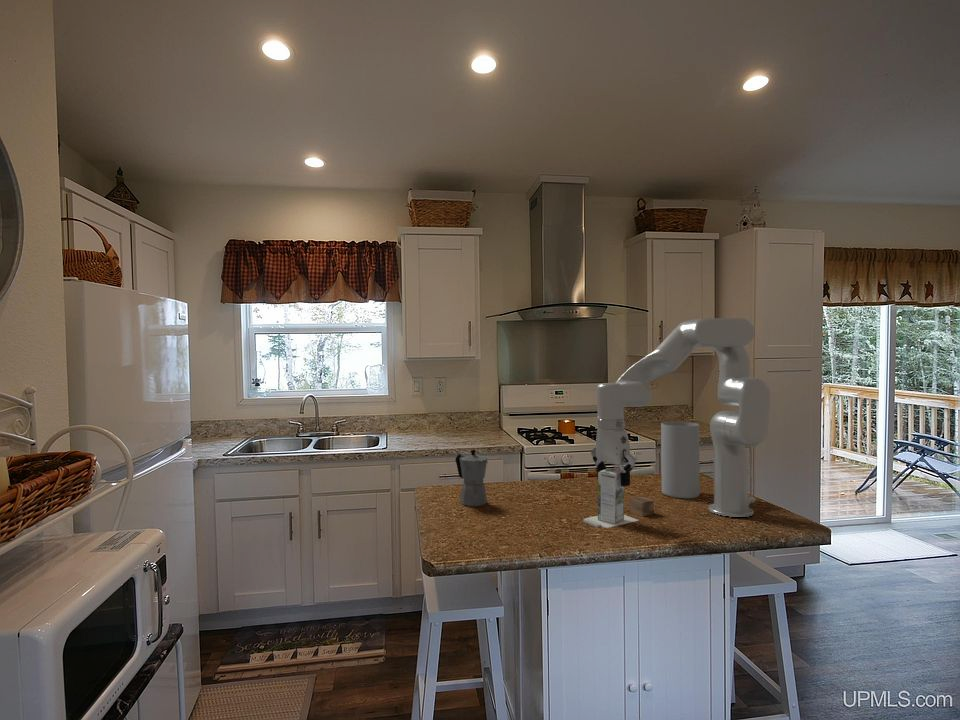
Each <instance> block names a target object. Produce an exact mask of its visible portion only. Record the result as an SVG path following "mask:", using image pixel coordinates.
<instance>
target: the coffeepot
mask: <svg viewBox="0 0 960 720" xmlns="http://www.w3.org/2000/svg"><path fill="white" fill-rule="evenodd" d="M476 451H477V450H476V449H474V448H473V449H471V450H470V453H471V454H470V455H469V454H468V455H467V454H462V453H458V454H457V456H455V464H456V468H457V472H458V477H459V478H461V479H463V483H462V487H461V492H460V493H461V494H460V500H459V503H460V504H461V503H462V504H463V505H462V504H461V505H462V506H465V505H467V506H466V507H481V506H484V505H486V504H487V503H488V498H487V492H486V486H485V483H484V478H485V477H486V470H487V464H488V462H489V461H488V457H485V456H482V455H478V454H476Z"/></svg>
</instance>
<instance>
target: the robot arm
mask: <svg viewBox="0 0 960 720" xmlns="http://www.w3.org/2000/svg"><path fill="white" fill-rule="evenodd" d="M754 337H755V328H754V325H753V324H752V323H751V322H750V321H749V320H747V319H745V318H743V317H736V318H735V317H732V318H730V317H729V318H727V317H724V318H722V317H721V318H719V317H717V318H716V317H715V318H714V317H713V318H712V317H711V318H707V317H704V318H694V319H689V320H684V321H682V322H680V323H679V324H678V325H676V327H675V328H674V329H673V330H672V331H671V332H670V333H669V334H668V335H667V337H665V338H664V339H663V341H661V343H659V345H657V347H656V348H655V349H653V351H652V352H650V353H649V354H647V355H646V356H644V357H642V358H641V359H640V360H639V361H637V362H635V363H634V364H633V365H631V366H630V367H629V368H628V369H627V370H626V371H625V372H624V373H623V374H622V375H620V377H619V378H618V379H617V380H616V381H615V382H602V383H599V384H598V385H597V386H596V404H597V405H596V407H597V408H596V409H597V430H596V439H595V440H596V441H595V447H594V448H593V449H591V450H590V454H591V456H592V461H593V462H594V466H595V467H596V480H598V472H600V471H602V470H605V469H607V467H606V465H605V464H611V465H614V466H618V468H619V469H620V471H622V472H621V473H620V481H621V486H622V487H624V488H625V487H627V486H631V472H632V470H633V469H634V468H635V464H636V461H637V458H636V457H635V456H633V455H632V454H631V447H630V439H629V435H628V431H627V430H626V429H625V427H626V422H625V409H624V407H635V408H640V407H645V406H646V405H648V404H649V403H650V402H651V401H652V399H653V391H652V389H651V387H650V386H649V385H648V383H649V382H651V381H653V380H655V379H657V378H659V377H662V376H665V375H668V374H670V373H673V372H674V371H676V370H677V369H678V368H680V366H681V365H682V363H683V362H685V360H686V359H687V358H688V357H689V356H690V355H692V353H693V352H694V351H695V349H697V348H712V349H713V350H714V351H715V353H716V355H717V357H718V362H719V363H718V365H719V366H718V367H719V368H718V369H719V370H718V383H717V399H718V401H719V402H720V403H721V404H723V405H724V406H728V407H731V408H732V407H734V408H739V409H738V410H739V411H736V410H735V411H734V410H721V411H718V412H716V413H715V414H714V415H713V416H712V417H711V420H710V423H709V431H710V436H711V441H712V445H713V446H712V449H713V503H711V504H709V505H708V511H709V512H710V513H712V514H714V513H715V514H714V515H717V514H718V516H720V515H722V516H721V517H725V516H729V517H728V518H731V517H748V518H750V517H749V516H752V515H753V514H755V512H754V510H753V509H752V508H751V507H750V506H749V505H751V504H754V503H756V498H755V497H754V496H749V493H748V492H749V490H748V489H749V483H748V482H749V481H748V479H749V477H748V476H749V475H748V474H749V473H748V470H749V469H748V462H749V460H748V459H749V458H748V452H747V449H746V446H747V447H757V446H759V445H761V444H762V443H764V441H765V440H766V438H767V436H768V431H769V424H770V423H769V422H770V410H771V393H770V392H771V391H770V389H769V386H768V385H767V384H766V383H767V382H765V381H764V380H762V379H761V378H759V377H754V376H753V377H752V376H750V371H751V370H750V365H751V363H750V362H751V361H750V356H749V354H748V351H747V350H746V348H745V346H747V345H750V343H751V342H752V341H753V340H754ZM753 516H754V515H753ZM753 516H752V517H753Z"/></svg>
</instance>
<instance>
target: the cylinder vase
mask: <svg viewBox="0 0 960 720" xmlns="http://www.w3.org/2000/svg"><path fill="white" fill-rule="evenodd" d="M660 427H661V428H660V433H661V434H660V436H661V437H660V442H661V445H660V446H661V449H660V450H661V451H660V452H661V454H660V455H661V457H660V458H661V459H660V460H661V462H660V463H661V493H662V494H663V495H665V496H667V497H669V496H670V498H675V499H681V498H682V499H683V500H684V499H685V500H688V499H690V498H691V499H696V498H699V496H700V494H701V493H700V491H701V487H700V486H701V485H700V482H701V481H700V480H701V479H700V477H701V476H700V468H701V467H700V424H699V423H696V422H687V421H664V422H661V423H660ZM691 499H690V500H691Z"/></svg>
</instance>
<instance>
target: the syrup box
mask: <svg viewBox="0 0 960 720" xmlns="http://www.w3.org/2000/svg"><path fill="white" fill-rule="evenodd" d="M621 472H622V471H621V469H620V470H619V469H616V468H606V469H605V470H602V471H600V472H598V479H597V487H598V488H597V516H598V520H600V521H605V522H609V523H614V524H616V523H618V522H619V521H621V520H623V519H624V515H625V486H624V487H622V486H621V481H620V473H621Z"/></svg>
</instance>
